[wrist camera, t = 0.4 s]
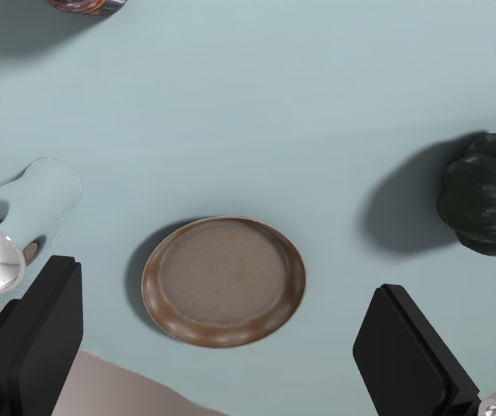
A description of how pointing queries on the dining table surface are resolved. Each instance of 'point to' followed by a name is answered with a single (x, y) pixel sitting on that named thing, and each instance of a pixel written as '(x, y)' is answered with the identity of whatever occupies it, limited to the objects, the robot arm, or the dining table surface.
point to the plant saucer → (224, 282)
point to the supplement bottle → (88, 6)
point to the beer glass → (33, 215)
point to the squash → (472, 195)
